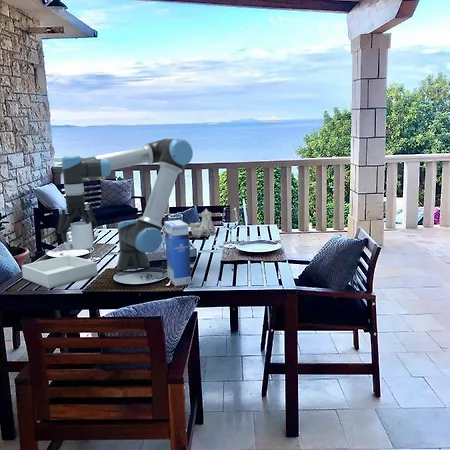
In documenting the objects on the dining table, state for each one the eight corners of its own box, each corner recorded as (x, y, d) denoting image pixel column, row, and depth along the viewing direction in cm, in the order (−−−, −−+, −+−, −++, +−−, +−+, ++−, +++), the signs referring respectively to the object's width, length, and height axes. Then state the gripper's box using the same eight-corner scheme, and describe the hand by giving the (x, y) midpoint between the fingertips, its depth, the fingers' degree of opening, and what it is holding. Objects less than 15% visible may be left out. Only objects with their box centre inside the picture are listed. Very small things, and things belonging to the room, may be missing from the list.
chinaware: (186, 233, 320) (183, 208, 317) (211, 228, 324) (208, 204, 320) (193, 242, 294) (189, 215, 290) (220, 237, 297) (216, 210, 293)
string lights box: (191, 284, 209) (189, 224, 204) (174, 286, 206) (171, 226, 201) (183, 275, 221) (180, 219, 216) (166, 278, 219) (163, 221, 214)
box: (97, 275, 227) (96, 262, 226) (48, 288, 210) (47, 274, 208) (70, 266, 243) (69, 254, 242) (23, 278, 226) (21, 265, 225)
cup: (93, 248, 203) (91, 224, 202) (62, 251, 200) (60, 226, 198) (92, 244, 211) (91, 220, 209) (63, 246, 208) (61, 223, 206)
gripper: (93, 190, 213) (98, 240, 217) (44, 196, 196) (49, 251, 201) (103, 191, 208) (107, 242, 212) (53, 198, 191) (59, 253, 196)
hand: (79, 246), depth 206 cm, fingers closed on cup, 10 cm apart
